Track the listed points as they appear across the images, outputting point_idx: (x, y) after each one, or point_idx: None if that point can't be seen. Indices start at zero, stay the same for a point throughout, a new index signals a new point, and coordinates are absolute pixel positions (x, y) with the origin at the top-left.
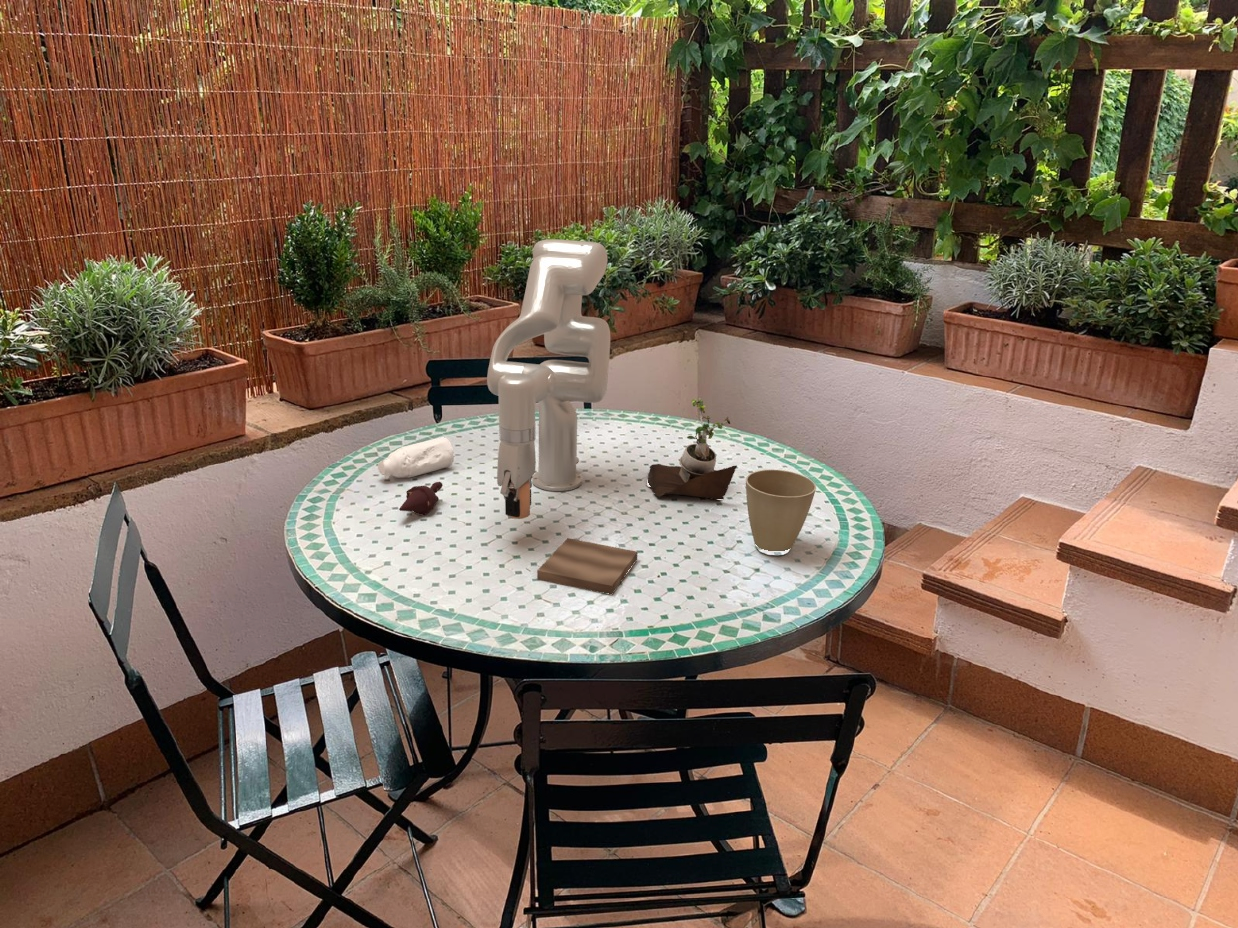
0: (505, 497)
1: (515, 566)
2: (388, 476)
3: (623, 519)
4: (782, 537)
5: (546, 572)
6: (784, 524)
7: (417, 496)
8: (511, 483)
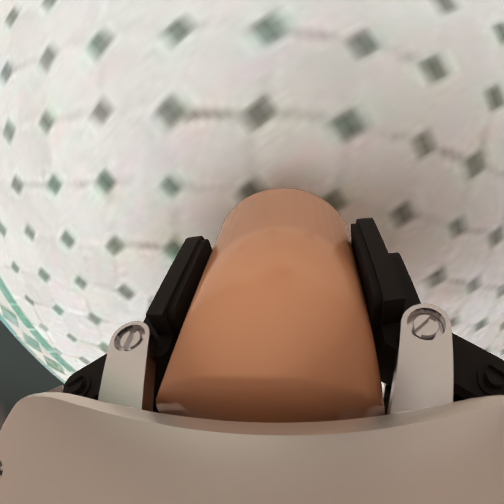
0: (97, 365)
1: (137, 273)
2: None
3: (481, 336)
4: None
5: None
6: None
7: None
8: (247, 401)
